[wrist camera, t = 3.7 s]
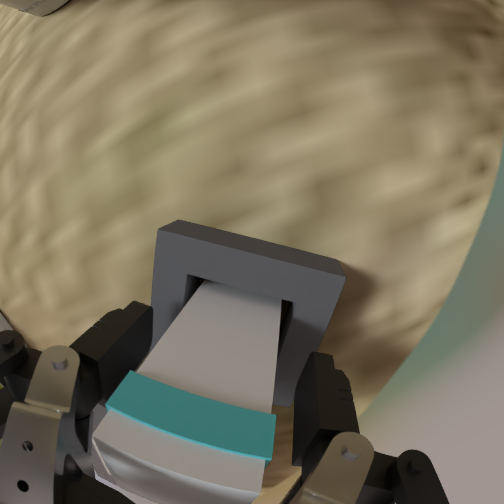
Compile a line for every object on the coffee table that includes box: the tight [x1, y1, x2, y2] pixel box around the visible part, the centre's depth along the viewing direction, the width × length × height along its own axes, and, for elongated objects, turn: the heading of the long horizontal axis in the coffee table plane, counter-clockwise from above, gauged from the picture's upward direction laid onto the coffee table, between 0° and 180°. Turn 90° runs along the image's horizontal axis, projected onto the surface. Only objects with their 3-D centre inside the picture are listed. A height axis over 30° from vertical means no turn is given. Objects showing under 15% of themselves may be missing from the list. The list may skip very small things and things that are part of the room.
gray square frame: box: [150, 220, 346, 407], centre depth 11 cm, size 7×7×2 cm
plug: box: [92, 279, 282, 504], centre depth 8 cm, size 3×3×9 cm
